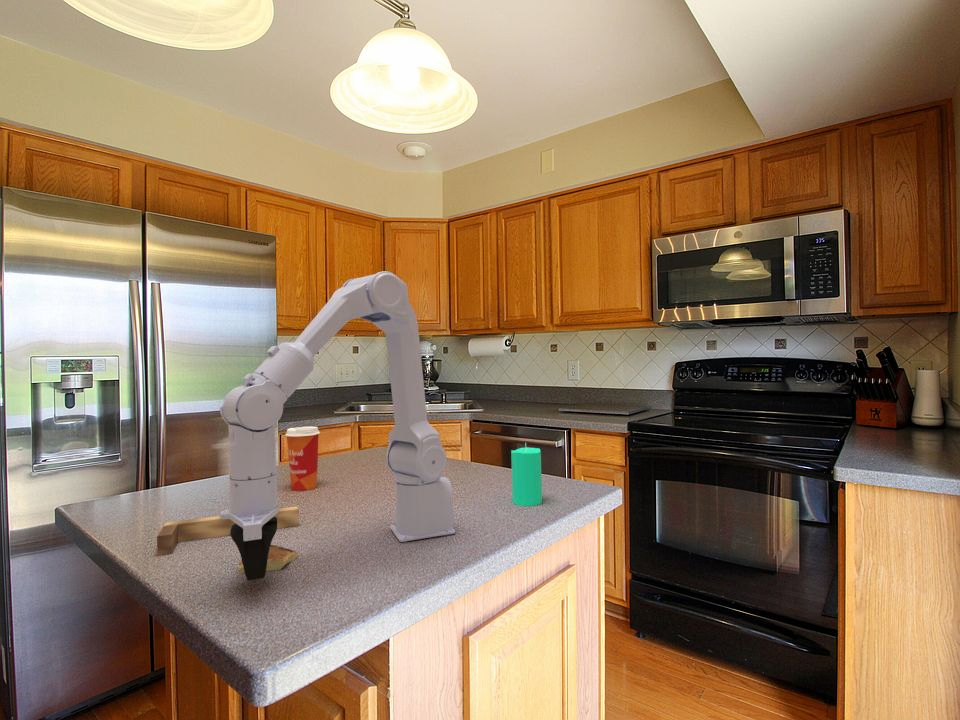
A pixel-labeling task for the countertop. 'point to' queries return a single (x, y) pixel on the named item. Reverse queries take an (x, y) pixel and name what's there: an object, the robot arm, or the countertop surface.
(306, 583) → the countertop surface
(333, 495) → the countertop surface
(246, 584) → the countertop surface
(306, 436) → the paper cup
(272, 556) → the shard
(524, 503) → the candle
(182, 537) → the oak ledge
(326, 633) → the countertop surface
